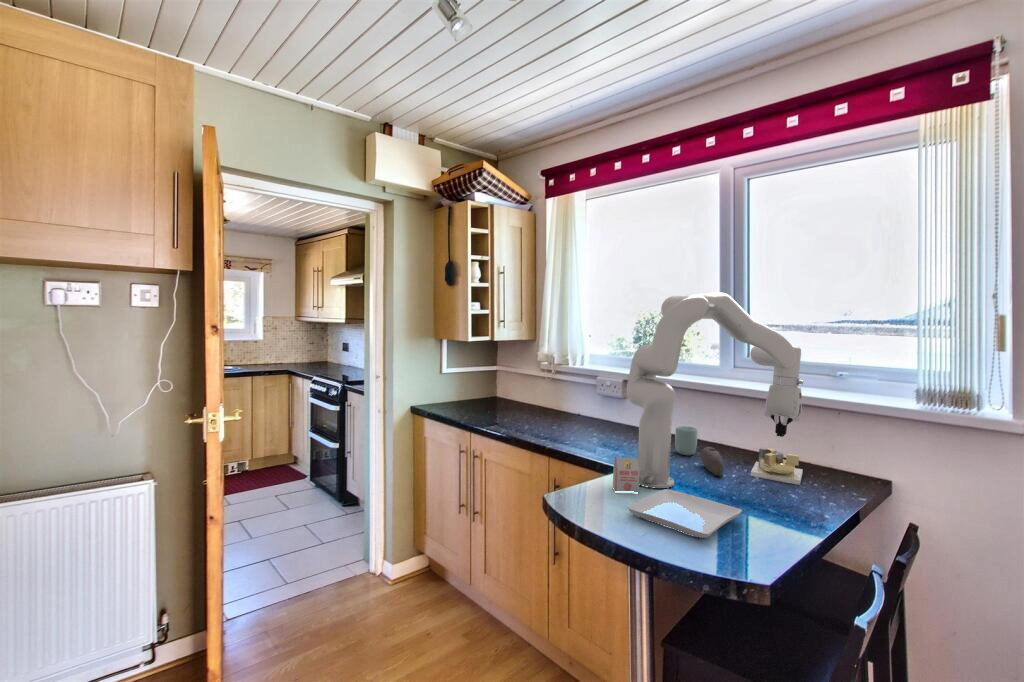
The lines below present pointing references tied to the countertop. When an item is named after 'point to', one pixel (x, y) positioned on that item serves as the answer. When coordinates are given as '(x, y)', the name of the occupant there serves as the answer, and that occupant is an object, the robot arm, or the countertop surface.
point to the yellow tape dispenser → (779, 462)
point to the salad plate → (705, 508)
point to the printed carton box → (626, 474)
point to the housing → (787, 478)
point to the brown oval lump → (712, 460)
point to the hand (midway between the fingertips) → (780, 435)
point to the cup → (686, 440)
